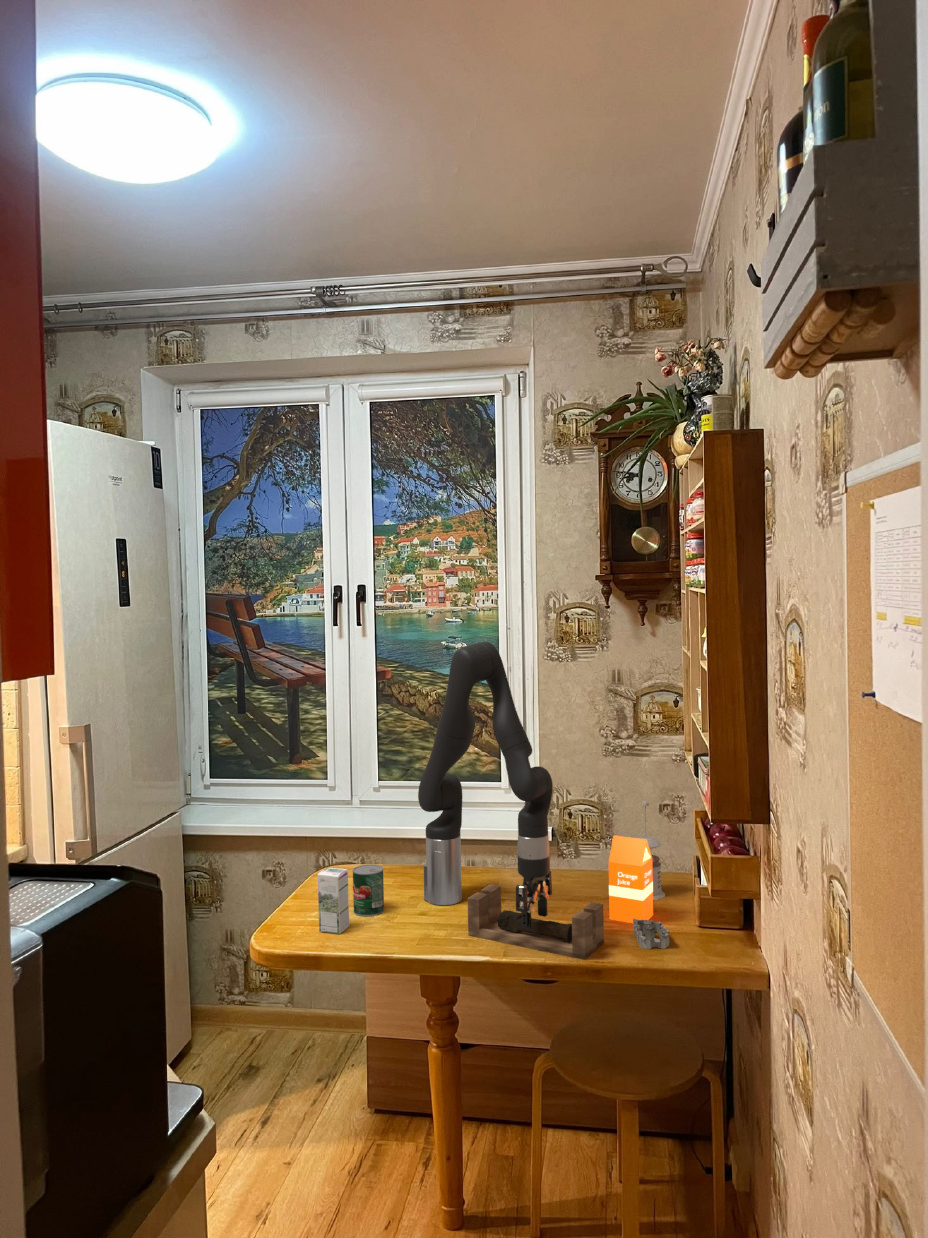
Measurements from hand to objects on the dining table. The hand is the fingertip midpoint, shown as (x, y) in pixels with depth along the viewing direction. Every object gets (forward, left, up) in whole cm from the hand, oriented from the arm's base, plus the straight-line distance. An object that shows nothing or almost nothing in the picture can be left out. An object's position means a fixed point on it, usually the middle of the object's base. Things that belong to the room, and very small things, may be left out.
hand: (534, 921), depth 211 cm
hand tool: (0, -1, -3) cm, 3 cm away
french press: (+13, +40, -4) cm, 43 cm away
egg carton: (+24, +12, -5) cm, 27 cm away
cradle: (0, 0, -4) cm, 4 cm away
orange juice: (+15, +23, -4) cm, 28 cm away
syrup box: (-46, -18, -4) cm, 49 cm away
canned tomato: (-46, -4, -4) cm, 46 cm away
